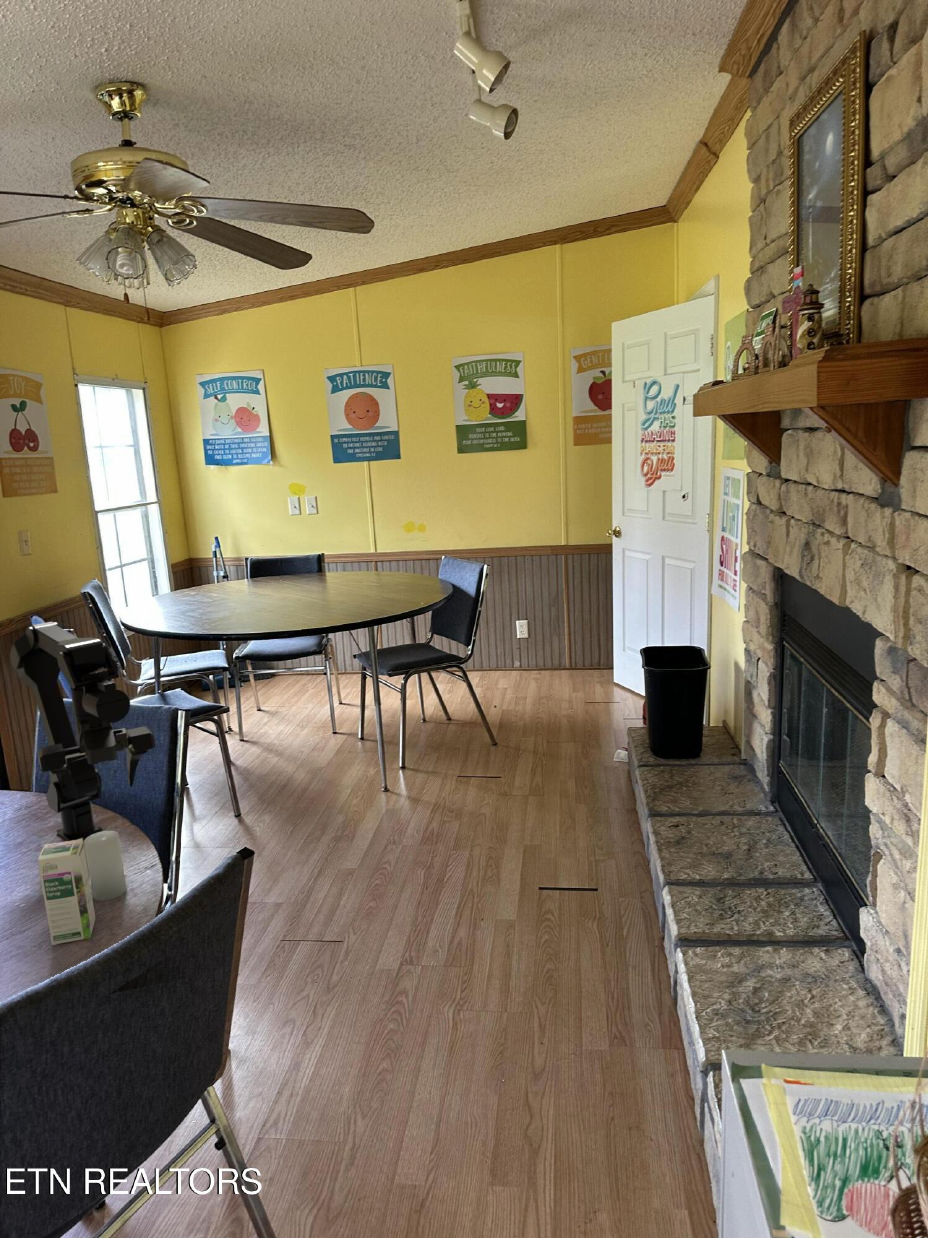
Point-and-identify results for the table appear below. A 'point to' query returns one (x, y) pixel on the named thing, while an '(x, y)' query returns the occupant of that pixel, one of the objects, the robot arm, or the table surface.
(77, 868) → the syrup box
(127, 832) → the table surface
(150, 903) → the table surface
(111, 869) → the grey-green rounded cylinder
